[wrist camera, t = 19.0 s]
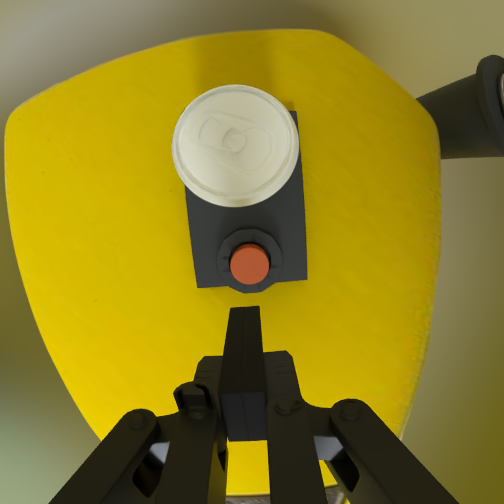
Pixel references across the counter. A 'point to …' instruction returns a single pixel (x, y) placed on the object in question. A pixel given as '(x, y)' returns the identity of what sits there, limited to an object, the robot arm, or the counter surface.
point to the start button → (249, 264)
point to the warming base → (251, 235)
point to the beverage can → (235, 145)
